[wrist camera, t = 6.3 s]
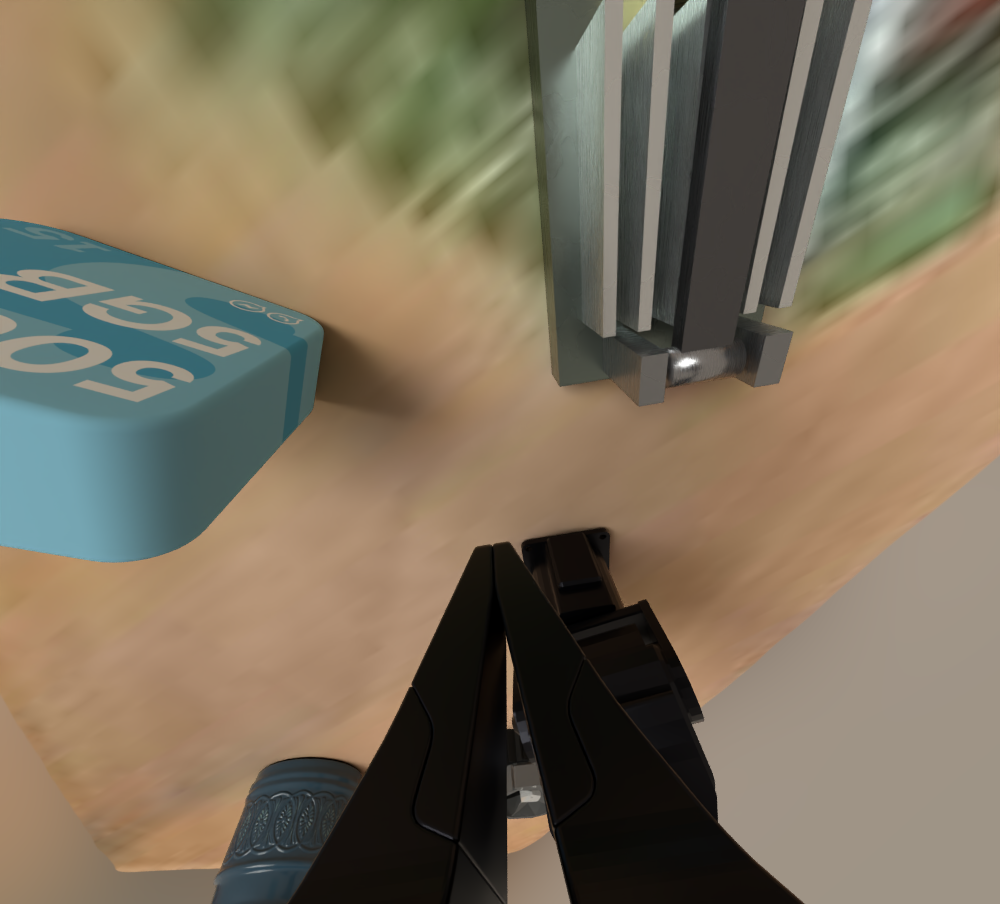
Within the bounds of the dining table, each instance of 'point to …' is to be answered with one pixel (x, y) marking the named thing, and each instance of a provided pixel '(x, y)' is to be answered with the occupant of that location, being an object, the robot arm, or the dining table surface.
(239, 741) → the dining table surface
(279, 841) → the canister
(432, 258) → the dining table surface
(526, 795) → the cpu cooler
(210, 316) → the data package
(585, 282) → the heatsink
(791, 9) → the dark grey bar
